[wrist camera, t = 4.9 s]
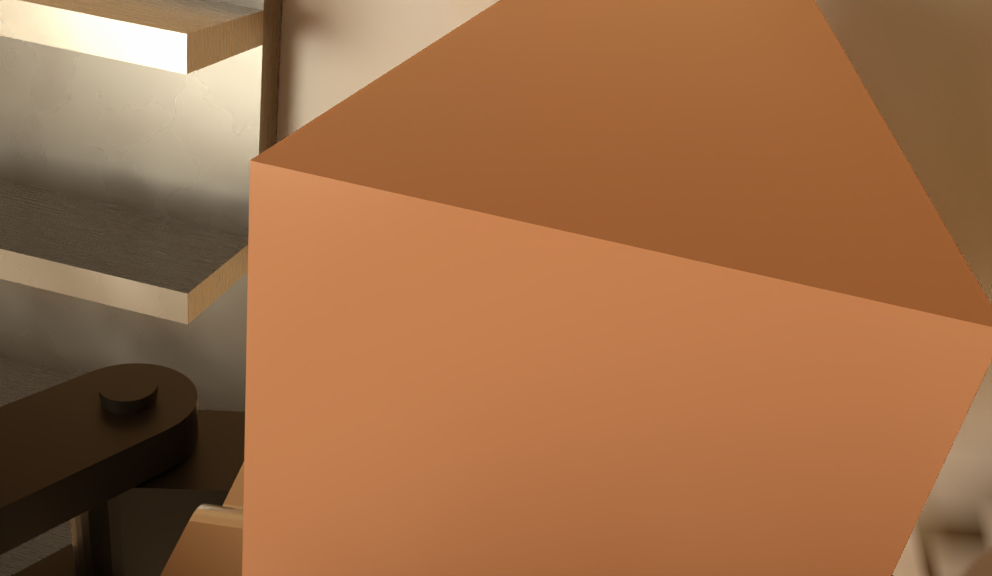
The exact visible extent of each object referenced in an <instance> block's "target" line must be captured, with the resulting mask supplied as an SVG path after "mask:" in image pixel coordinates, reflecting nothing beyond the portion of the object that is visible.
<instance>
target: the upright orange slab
mask: <svg viewBox="0 0 992 576" xmlns="http://www.w3.org/2000/svg"><path fill="white" fill-rule="evenodd" d="M991 360H992V306H991V304H990V302H989V301H988V299H987V297H986V295H985V294H984V292H983V290H982V289H981V287H980V285H979V283H978V282H977V280H976V278H975V276H974V275H973V273H972V271H971V270H970V268H969V266H968V264H967V263H966V261H965V259H964V257H963V256H962V254H961V252H960V251H959V249H958V247H957V245H956V244H955V242H954V240H953V238H952V237H951V235H950V233H949V232H948V230H947V228H946V226H945V225H944V223H943V221H942V219H941V218H940V216H939V214H938V213H937V211H936V209H935V207H934V206H933V204H932V202H931V200H930V199H929V197H928V195H927V193H926V192H925V190H924V188H923V187H922V185H921V183H920V181H919V180H918V178H917V176H916V174H915V173H914V171H913V169H912V168H911V166H910V164H909V162H908V161H907V159H906V157H905V155H904V154H903V152H902V150H901V149H900V147H899V145H898V143H897V142H896V140H895V138H894V136H893V135H892V133H891V131H890V130H889V128H888V126H887V124H886V123H885V121H884V119H883V117H882V116H881V114H880V112H879V111H878V109H877V107H876V105H875V104H874V102H873V100H872V98H871V97H870V95H869V93H868V92H867V90H866V88H865V86H864V85H863V83H862V81H861V79H860V78H859V76H858V74H857V72H856V71H855V69H854V67H853V66H852V64H851V62H850V60H849V59H848V57H847V55H846V53H845V52H844V50H843V48H842V47H841V45H840V43H839V41H838V40H837V38H836V36H835V34H834V33H833V31H832V29H831V28H830V26H829V24H828V22H827V21H826V19H825V17H824V15H823V14H822V12H821V10H820V9H819V7H818V5H817V3H816V2H815V0H500V1H498V2H496V3H495V4H493V5H492V6H490V7H489V8H487V9H486V10H484V11H482V12H481V13H479V14H478V15H476V16H475V17H473V18H471V19H470V20H468V21H467V22H465V23H464V24H462V25H461V26H459V27H457V28H456V29H454V30H453V31H451V32H450V33H448V34H447V35H445V36H443V37H442V38H440V39H439V40H437V41H436V42H434V43H432V44H431V45H429V46H428V47H426V48H425V49H423V50H422V51H420V52H418V53H417V54H415V55H414V56H412V57H411V58H409V59H408V60H406V61H404V62H403V63H401V64H400V65H398V66H397V67H395V68H393V69H392V70H390V71H389V72H387V73H386V74H384V75H383V76H381V77H379V78H378V79H376V80H375V81H373V82H372V83H370V84H368V85H367V86H365V87H364V88H362V89H361V90H359V91H358V92H356V93H354V94H353V95H351V96H350V97H348V98H347V99H345V100H344V101H342V102H340V103H339V104H337V105H336V106H334V107H333V108H331V109H329V110H328V111H326V112H325V113H323V114H322V115H320V116H319V117H317V118H315V119H314V120H312V121H311V122H309V123H308V124H306V125H304V126H303V127H301V128H300V129H298V130H297V131H295V132H294V133H292V134H290V135H289V136H287V137H286V138H284V139H283V140H281V141H280V142H278V143H276V144H275V145H273V146H272V147H270V148H269V149H267V150H265V151H264V152H262V153H261V154H259V155H258V156H256V157H255V158H253V159H251V160H250V183H249V236H248V289H247V343H246V396H245V449H244V502H243V555H242V576H892V574H893V572H894V569H895V567H896V565H897V563H898V561H899V559H900V557H901V554H902V552H903V550H904V548H905V546H906V544H907V541H908V539H909V537H910V535H911V533H912V531H913V529H914V526H915V524H916V522H917V520H918V518H919V516H920V513H921V511H922V509H923V507H924V505H925V503H926V501H927V498H928V496H929V494H930V492H931V490H932V488H933V485H934V483H935V481H936V479H937V477H938V475H939V473H940V470H941V468H942V466H943V464H944V462H945V460H946V457H947V455H948V453H949V451H950V449H951V447H952V445H953V442H954V440H955V438H956V436H957V434H958V432H959V429H960V427H961V425H962V423H963V421H964V419H965V416H966V414H967V412H968V410H969V408H970V406H971V404H972V401H973V399H974V397H975V395H976V393H977V391H978V388H979V386H980V384H981V382H982V380H983V378H984V376H985V373H986V371H987V369H988V367H989V365H990V363H991Z"/></svg>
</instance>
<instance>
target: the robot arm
mask: <svg viewBox="0 0 992 576" xmlns="http://www.w3.org/2000/svg"><path fill="white" fill-rule="evenodd" d="M244 449H245V412H237V411H215V410H198V395H197V390H196V387H195V385H194V384H193V382H192V381H191V380H190V379H189V378H188V377H186V376H185V375H184V374H182V373H180V372H178V371H176V370H173V369H171V368H168V367H164V366H160V365H154V364H144V363H130V364H119V365H113V366H108V367H104V368H100V369H97V370H94V371H91V372H89V373H86V374H84V375H81V376H78V377H76V378H73V379H71V380H68V381H66V382H63V383H60V384H58V385H55V386H53V387H50V388H48V389H45V390H42V391H40V392H37V393H35V394H32V395H30V396H27V397H24V398H22V399H19V400H17V401H14V402H12V403H9V404H7V405H4V406H1V407H0V555H2V554H4V553H6V552H8V551H10V550H12V549H14V548H16V547H18V546H20V545H22V544H23V543H25V542H27V541H29V540H31V539H33V538H35V537H37V536H39V535H41V534H43V533H45V532H47V531H49V530H51V529H53V528H55V527H57V526H59V525H61V524H63V523H65V522H67V521H69V520H70V524H71V534H72V544H70V545H68V546H66V547H64V548H62V549H60V550H58V551H57V552H55V553H53V554H51V555H49V556H47V557H45V558H43V559H42V560H40V561H38V562H36V563H34V564H32V565H30V566H28V567H27V568H25V569H23V570H21V571H19V572H17V573H15V574H13V575H12V576H242V555H243V502H244ZM892 576H893V575H892Z"/></svg>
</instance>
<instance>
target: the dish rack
mask: <svg viewBox="0 0 992 576" xmlns="http://www.w3.org/2000/svg"><path fill="white" fill-rule="evenodd" d="M281 9H282V0H0V407H1V406H4V405H7V404H9V403H12V402H14V401H17V400H19V399H22V398H24V397H27V396H30V395H32V394H35V393H37V392H40V391H42V390H45V389H48V388H50V387H53V386H55V385H58V384H60V383H63V382H66V381H68V380H71V379H73V378H76V377H78V376H81V375H84V374H86V373H89V372H91V371H94V370H97V369H100V368H104V367H108V366H113V365H119V364H130V363H144V364H154V365H160V366H164V367H168V368H171V369H173V370H176V371H178V372H180V373H182V374H184V375H185V376H186V377H188V378H189V379H190V380H191V381H192V382H193V384H194V385H195V387H196V390H197V395H198V410H215V411H237V412H245V396H246V343H247V289H248V236H249V183H250V160H251V159H253V158H255V157H256V156H258V155H259V154H261V153H262V152H264V151H265V150H267V149H269V148H270V147H272V146H273V145H275V144H276V129H277V105H278V81H279V57H280V33H281ZM70 544H72V534H71V524H70V520H69V521H67V522H65V523H63V524H61V525H59V526H57V527H55V528H53V529H51V530H49V531H47V532H45V533H43V534H41V535H39V536H37V537H35V538H33V539H31V540H29V541H27V542H25V543H23V544H22V545H20V546H18V547H16V548H14V549H12V550H10V551H8V552H6V553H4V554H2V555H0V576H12V575H13V574H15V573H17V572H19V571H21V570H23V569H25V568H27V567H28V566H30V565H32V564H34V563H36V562H38V561H40V560H42V559H43V558H45V557H47V556H49V555H51V554H53V553H55V552H57V551H58V550H60V549H62V548H64V547H66V546H68V545H70Z"/></svg>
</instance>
